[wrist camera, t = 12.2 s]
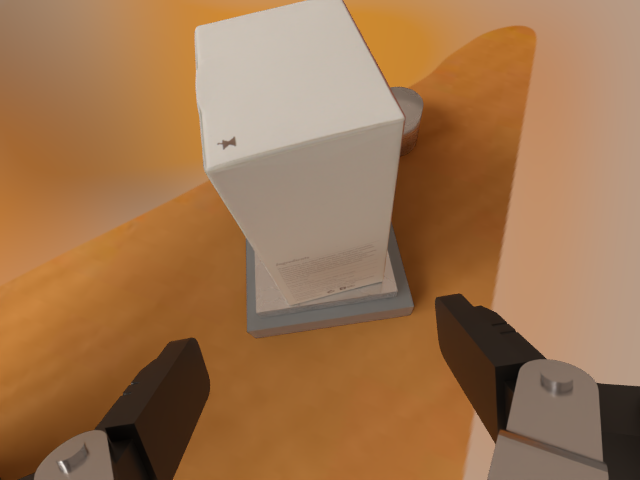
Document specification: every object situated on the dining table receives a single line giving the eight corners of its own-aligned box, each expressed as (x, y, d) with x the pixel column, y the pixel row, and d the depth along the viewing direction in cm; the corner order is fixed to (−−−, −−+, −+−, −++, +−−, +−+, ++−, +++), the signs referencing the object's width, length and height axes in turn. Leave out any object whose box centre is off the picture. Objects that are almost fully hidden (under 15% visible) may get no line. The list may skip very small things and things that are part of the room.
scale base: (255, 338, 23) (217, 309, 17) (252, 192, 30) (223, 134, 24) (410, 315, 23) (427, 277, 17) (373, 172, 29) (376, 107, 23)
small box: (385, 282, 21) (412, 118, 9) (287, 308, 21) (196, 173, 9) (350, 185, 25) (340, -14, 13) (268, 206, 25) (188, 24, 13)
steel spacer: (373, 161, 30) (375, 127, 26) (364, 127, 32) (364, 91, 29) (421, 153, 30) (429, 117, 26) (409, 119, 32) (415, 83, 28)
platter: (261, 317, 22) (256, 312, 21) (257, 207, 26) (253, 198, 25) (396, 297, 21) (397, 291, 20) (369, 188, 26) (369, 178, 25)
